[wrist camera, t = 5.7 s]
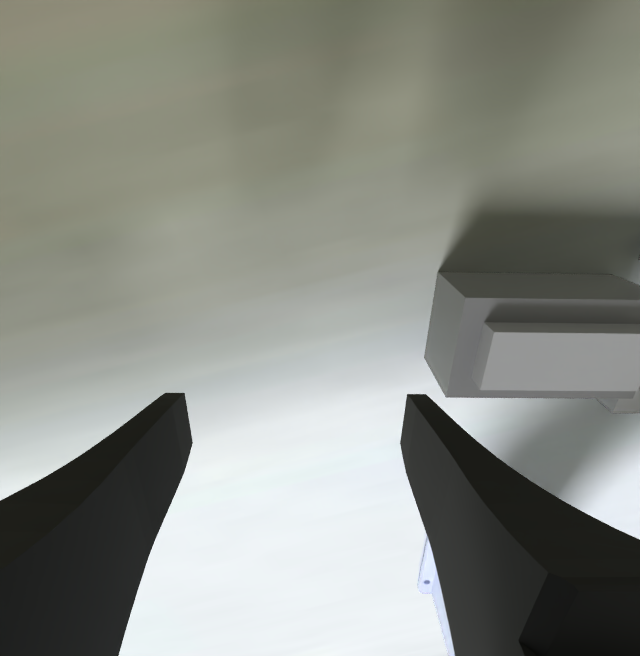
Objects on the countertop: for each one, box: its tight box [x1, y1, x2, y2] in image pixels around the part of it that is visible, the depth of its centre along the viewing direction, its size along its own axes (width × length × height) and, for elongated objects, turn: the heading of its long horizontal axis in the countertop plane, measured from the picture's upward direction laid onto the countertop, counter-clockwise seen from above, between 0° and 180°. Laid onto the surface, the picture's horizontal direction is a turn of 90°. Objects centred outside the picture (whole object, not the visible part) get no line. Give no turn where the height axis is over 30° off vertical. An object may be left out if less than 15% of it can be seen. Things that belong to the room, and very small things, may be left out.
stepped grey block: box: [424, 272, 640, 399], centre depth 18 cm, size 5×9×5 cm, turn 89°
